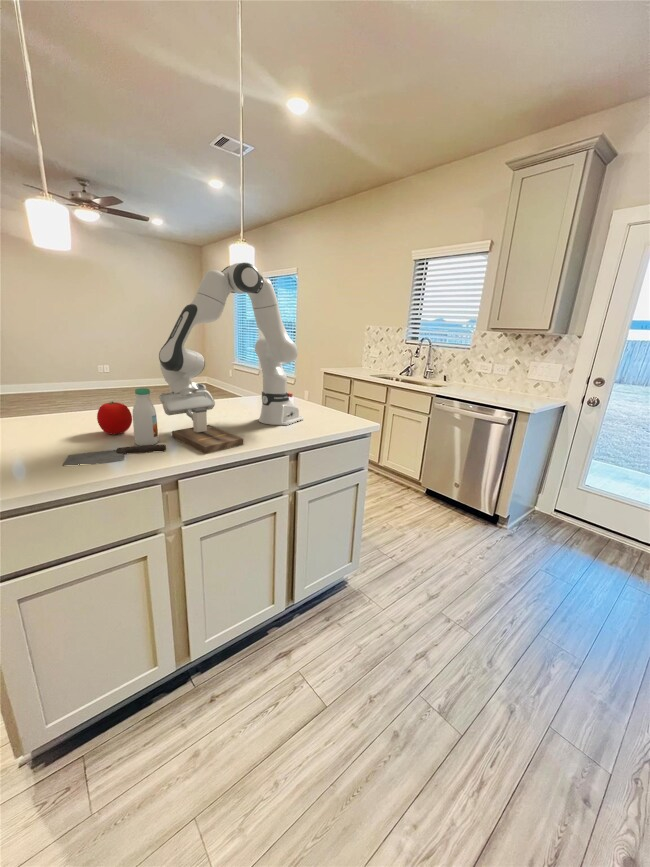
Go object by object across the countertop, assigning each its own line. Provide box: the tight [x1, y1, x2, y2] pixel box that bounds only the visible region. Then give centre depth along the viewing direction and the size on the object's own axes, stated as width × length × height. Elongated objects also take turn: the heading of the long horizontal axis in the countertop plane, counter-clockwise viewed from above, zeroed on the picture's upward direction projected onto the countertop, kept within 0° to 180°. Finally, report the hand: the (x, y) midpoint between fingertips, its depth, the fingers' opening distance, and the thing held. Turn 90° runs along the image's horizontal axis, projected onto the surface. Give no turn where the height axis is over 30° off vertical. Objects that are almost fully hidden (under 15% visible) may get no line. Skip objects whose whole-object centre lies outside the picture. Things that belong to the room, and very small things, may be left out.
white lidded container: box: [192, 408, 208, 432], centre depth 137 cm, size 4×3×9 cm
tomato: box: [96, 401, 133, 435], centre depth 136 cm, size 12×12×13 cm
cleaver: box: [62, 444, 167, 466], centre depth 116 cm, size 29×10×2 cm, turn 121°
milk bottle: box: [132, 387, 159, 446], centre depth 127 cm, size 8×8×20 cm
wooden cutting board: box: [171, 424, 244, 455], centre depth 136 cm, size 16×24×2 cm, turn 49°
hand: (197, 420), depth 139 cm, fingers closed, pressing on white lidded container
